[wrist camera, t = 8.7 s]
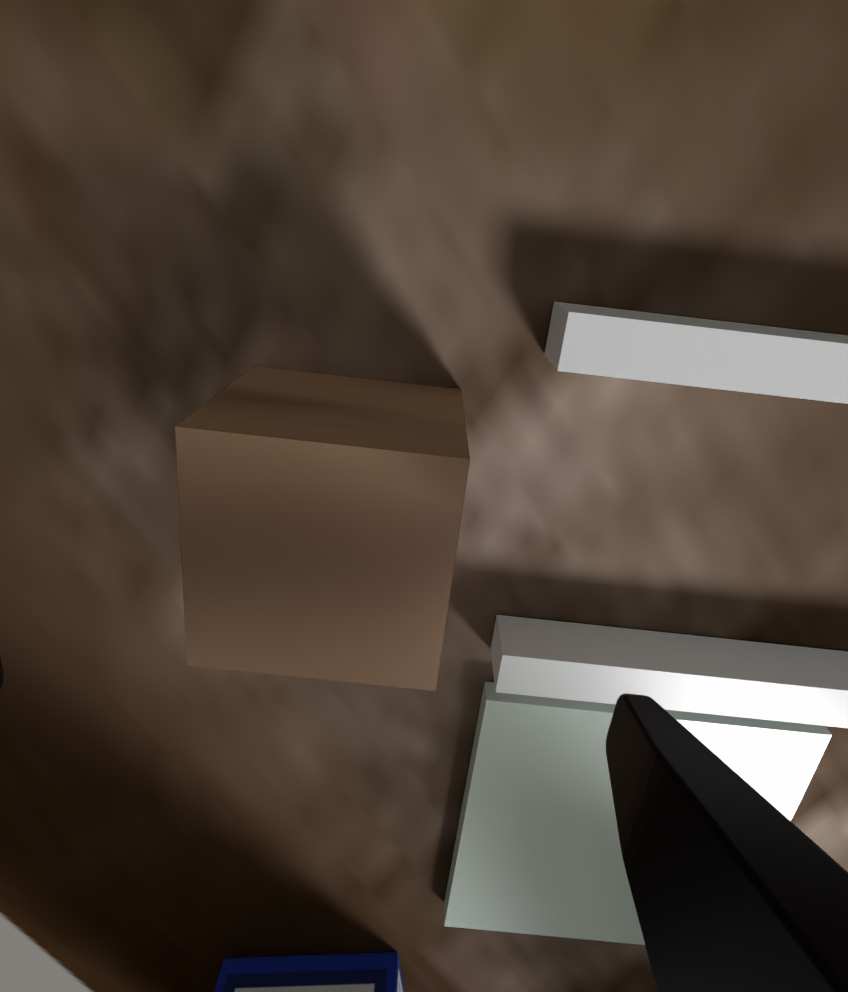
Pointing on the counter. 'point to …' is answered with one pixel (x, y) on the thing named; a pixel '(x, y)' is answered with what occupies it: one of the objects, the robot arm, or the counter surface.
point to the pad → (581, 812)
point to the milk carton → (312, 973)
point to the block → (321, 526)
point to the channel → (669, 656)
